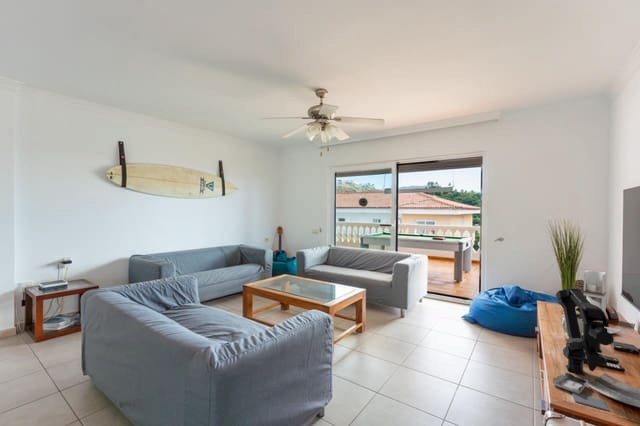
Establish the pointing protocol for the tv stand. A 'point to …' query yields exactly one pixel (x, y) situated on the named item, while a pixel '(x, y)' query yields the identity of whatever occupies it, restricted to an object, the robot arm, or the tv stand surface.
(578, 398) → the mat
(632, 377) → the tv stand surface
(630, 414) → the tv stand surface
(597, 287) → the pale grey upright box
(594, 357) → the robot arm
